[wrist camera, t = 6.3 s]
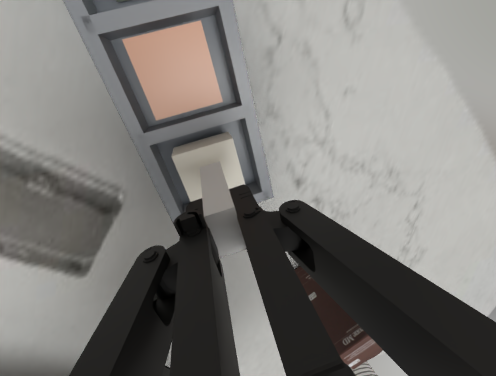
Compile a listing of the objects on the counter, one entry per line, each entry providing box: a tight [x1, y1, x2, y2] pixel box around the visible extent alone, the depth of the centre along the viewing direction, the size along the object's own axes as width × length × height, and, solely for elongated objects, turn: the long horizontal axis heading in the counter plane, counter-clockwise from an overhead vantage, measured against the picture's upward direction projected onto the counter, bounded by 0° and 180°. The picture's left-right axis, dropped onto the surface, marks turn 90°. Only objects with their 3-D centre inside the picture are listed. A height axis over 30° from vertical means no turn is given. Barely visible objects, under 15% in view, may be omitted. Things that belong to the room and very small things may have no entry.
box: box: [295, 266, 383, 369], centre depth 28 cm, size 6×4×12 cm
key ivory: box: [171, 132, 245, 202], centre depth 19 cm, size 5×5×2 cm
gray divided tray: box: [63, 0, 274, 222], centre depth 18 cm, size 10×25×4 cm, turn 13°
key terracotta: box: [122, 20, 223, 120], centre depth 16 cm, size 5×5×2 cm
